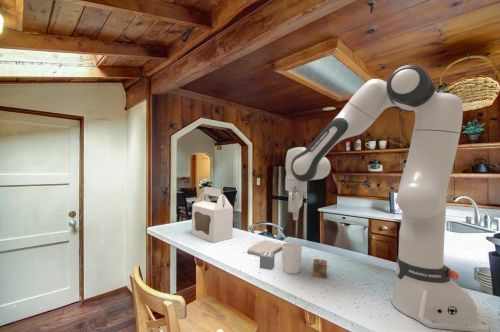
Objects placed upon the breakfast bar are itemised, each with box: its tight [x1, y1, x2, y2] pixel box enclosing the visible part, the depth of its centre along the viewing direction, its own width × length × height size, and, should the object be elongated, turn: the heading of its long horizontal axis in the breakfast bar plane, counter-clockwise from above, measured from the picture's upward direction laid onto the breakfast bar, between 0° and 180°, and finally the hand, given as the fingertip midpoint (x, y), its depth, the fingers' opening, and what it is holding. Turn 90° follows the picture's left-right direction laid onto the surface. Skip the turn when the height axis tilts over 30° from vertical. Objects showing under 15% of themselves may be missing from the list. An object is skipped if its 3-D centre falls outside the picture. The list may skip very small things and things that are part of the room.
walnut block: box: [312, 258, 328, 279], centre depth 95 cm, size 5×5×5 cm
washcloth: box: [246, 239, 283, 257], centre depth 120 cm, size 12×18×3 cm, turn 149°
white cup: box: [281, 241, 303, 275], centre depth 98 cm, size 8×8×10 cm
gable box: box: [191, 186, 234, 244], centre depth 141 cm, size 22×13×28 cm, turn 44°
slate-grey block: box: [259, 252, 276, 271], centre depth 101 cm, size 5×5×5 cm
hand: (295, 219), depth 102 cm, fingers closed
